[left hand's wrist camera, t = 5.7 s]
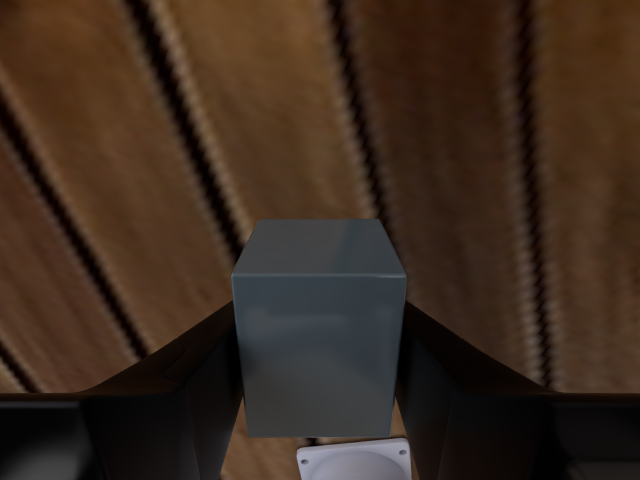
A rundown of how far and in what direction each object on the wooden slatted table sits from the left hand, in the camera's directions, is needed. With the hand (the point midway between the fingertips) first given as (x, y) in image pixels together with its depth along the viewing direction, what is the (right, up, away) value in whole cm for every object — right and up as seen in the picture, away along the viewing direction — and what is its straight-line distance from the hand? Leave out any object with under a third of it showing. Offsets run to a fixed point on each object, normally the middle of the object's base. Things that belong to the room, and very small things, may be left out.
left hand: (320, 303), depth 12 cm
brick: (0, 0, +1) cm, 1 cm away
